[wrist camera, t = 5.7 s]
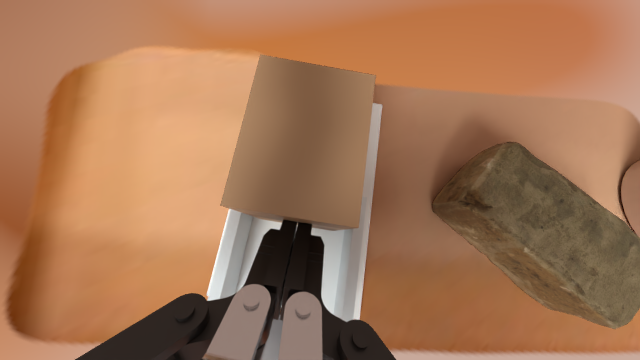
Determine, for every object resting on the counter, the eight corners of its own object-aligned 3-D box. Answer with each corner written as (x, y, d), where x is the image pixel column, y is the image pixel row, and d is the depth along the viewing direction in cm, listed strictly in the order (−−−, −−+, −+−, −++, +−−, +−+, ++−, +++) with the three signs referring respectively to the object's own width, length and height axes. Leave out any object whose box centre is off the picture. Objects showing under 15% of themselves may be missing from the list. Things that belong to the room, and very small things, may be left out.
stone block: (459, 156, 19) (514, 129, 14) (579, 251, 18) (684, 259, 13) (420, 208, 17) (465, 199, 13) (546, 314, 16) (648, 349, 11)
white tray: (380, 108, 19) (396, 80, 16) (349, 386, 14) (364, 435, 11) (263, 87, 19) (253, 54, 15) (192, 362, 14) (155, 404, 11)
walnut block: (344, 145, 17) (375, 75, 10) (332, 230, 16) (358, 228, 8) (280, 134, 17) (260, 54, 10) (262, 219, 16) (220, 205, 8)
